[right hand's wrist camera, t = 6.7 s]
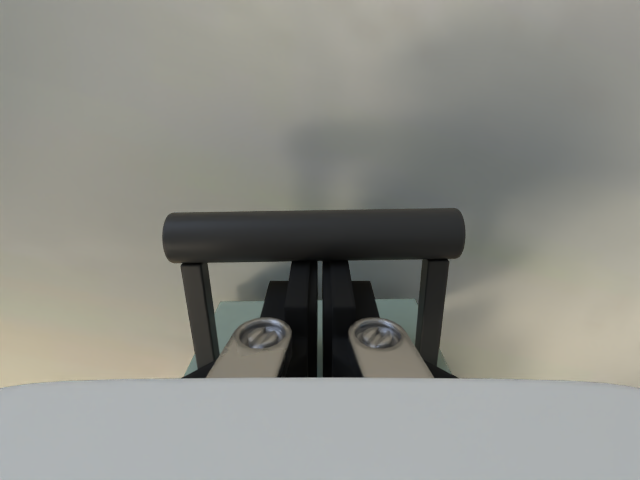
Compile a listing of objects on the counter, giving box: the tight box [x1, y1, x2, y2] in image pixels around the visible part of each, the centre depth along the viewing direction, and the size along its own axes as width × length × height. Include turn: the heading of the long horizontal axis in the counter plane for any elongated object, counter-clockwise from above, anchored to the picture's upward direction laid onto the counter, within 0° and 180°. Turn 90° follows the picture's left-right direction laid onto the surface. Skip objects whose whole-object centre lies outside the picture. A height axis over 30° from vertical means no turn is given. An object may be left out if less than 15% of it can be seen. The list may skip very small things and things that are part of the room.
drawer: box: [162, 208, 465, 378], centre depth 14 cm, size 18×8×6 cm, turn 1°
